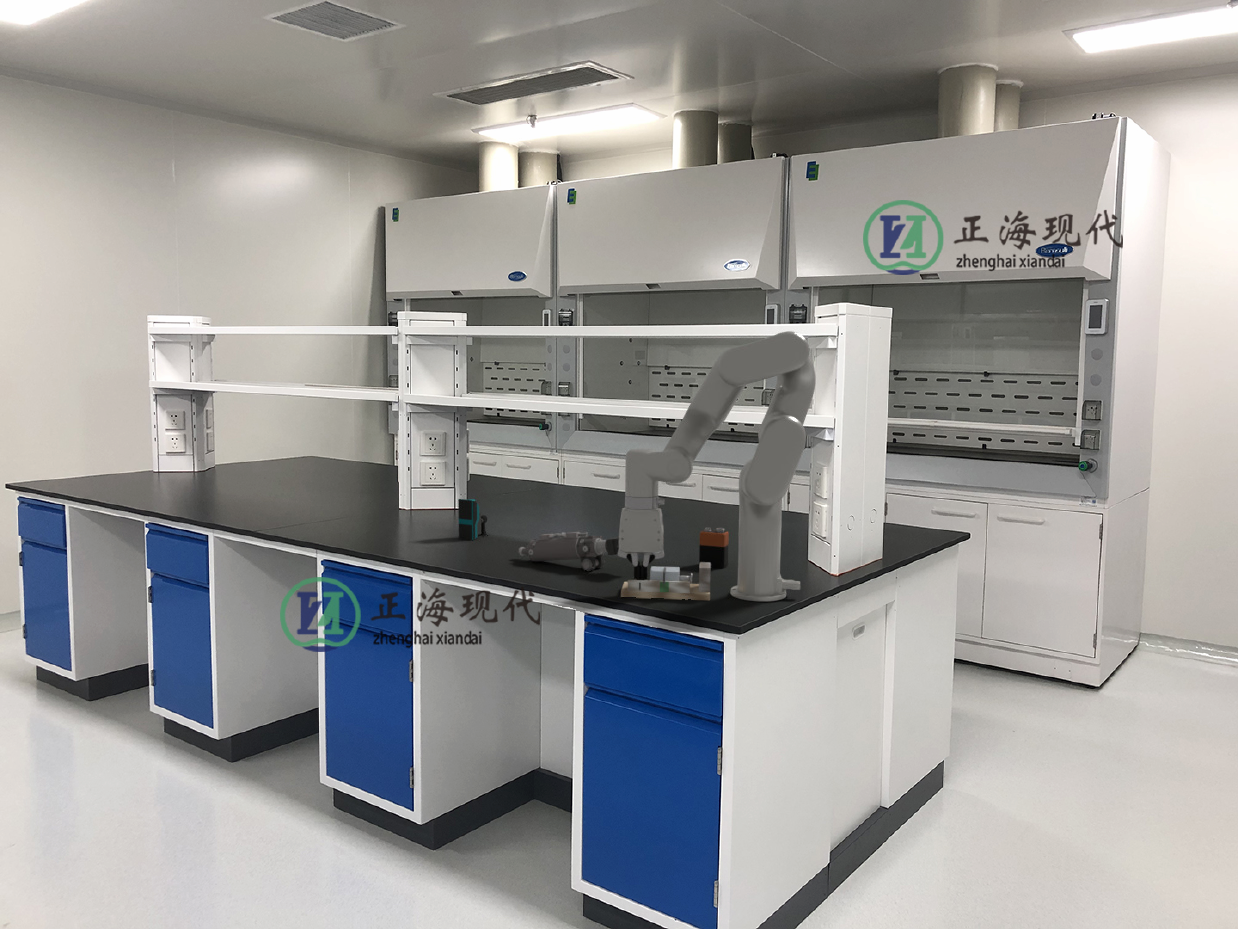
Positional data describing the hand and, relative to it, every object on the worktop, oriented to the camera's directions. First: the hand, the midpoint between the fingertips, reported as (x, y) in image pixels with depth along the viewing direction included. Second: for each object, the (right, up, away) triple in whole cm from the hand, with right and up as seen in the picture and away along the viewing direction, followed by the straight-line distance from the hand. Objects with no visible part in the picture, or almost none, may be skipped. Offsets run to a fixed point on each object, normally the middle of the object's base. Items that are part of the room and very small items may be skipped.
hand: (640, 582), depth 215 cm
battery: (+20, 0, +30) cm, 36 cm away
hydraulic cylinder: (-16, 0, +27) cm, 32 cm away
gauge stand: (+6, -3, 0) cm, 6 cm away
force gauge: (+7, -1, -2) cm, 7 cm away
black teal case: (-48, +5, +66) cm, 82 cm away
